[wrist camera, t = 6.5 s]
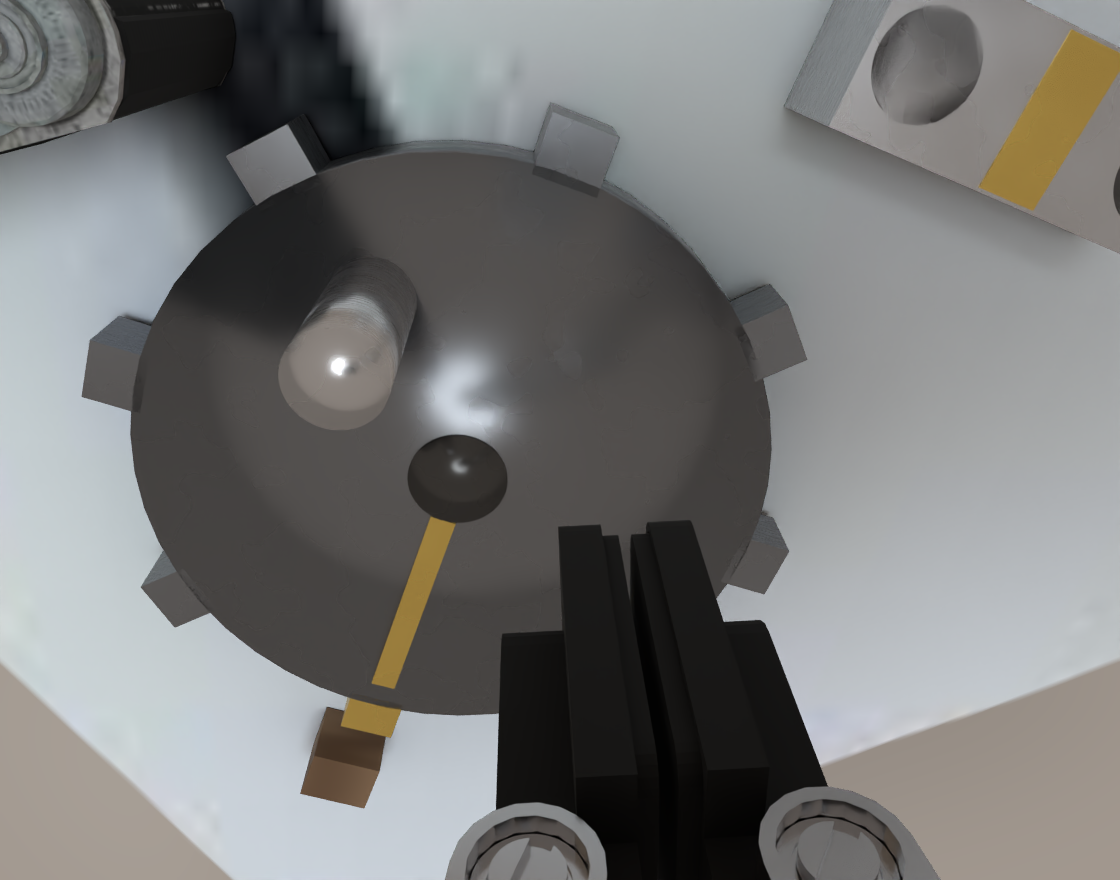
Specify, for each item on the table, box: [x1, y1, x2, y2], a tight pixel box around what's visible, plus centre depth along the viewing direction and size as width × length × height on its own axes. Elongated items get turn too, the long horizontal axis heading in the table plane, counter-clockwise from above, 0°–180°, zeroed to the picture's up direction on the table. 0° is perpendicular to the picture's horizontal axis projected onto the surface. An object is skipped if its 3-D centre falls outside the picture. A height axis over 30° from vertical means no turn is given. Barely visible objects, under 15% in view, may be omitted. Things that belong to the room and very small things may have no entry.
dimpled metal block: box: [784, 0, 1120, 253], centre depth 23 cm, size 10×4×4 cm, turn 69°
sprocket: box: [82, 103, 807, 738], centre depth 25 cm, size 22×22×8 cm
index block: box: [300, 707, 386, 808], centre depth 33 cm, size 2×2×2 cm
